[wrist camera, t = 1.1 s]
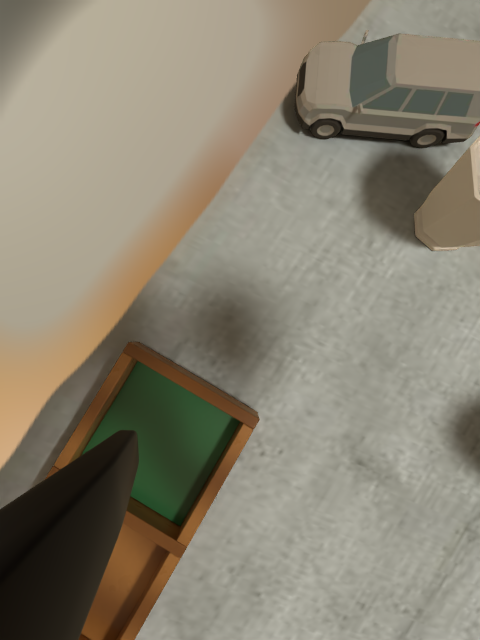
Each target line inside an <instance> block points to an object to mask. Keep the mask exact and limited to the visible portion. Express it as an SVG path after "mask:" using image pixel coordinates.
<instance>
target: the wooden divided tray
mask: <svg viewBox="0 0 480 640" xmlns="http://www.w3.org/2000/svg"><path fill="white" fill-rule="evenodd" d="M258 421H259V416H258V412H256V411H255V410H253V409H251V408H249V407H248V406H246V405H244V404H243V403H241V402H239V401H238V400H236V399H234V398H233V397H231V396H229V395H227V394H226V393H224V392H222V391H221V390H219V389H217V388H216V387H214V386H212V385H211V384H209V383H207V382H205V381H204V380H202V379H200V378H199V377H197V376H195V375H194V374H192V373H190V372H189V371H187V370H185V369H183V368H182V367H180V366H178V365H177V364H175V363H173V362H172V361H170V360H168V359H167V358H165V357H163V356H161V355H160V354H158V353H156V352H155V351H153V350H151V349H150V348H148V347H146V346H145V345H143V344H141V343H140V342H128V344H127V345H126V347H125V349H124V350H123V353H122V354H121V355H120V357H119V359H118V360H117V362H116V363H115V365H114V367H113V368H112V370H111V372H110V373H109V375H108V377H107V378H106V380H105V382H104V383H103V385H102V386H101V388H100V390H99V391H98V393H97V395H96V396H95V398H94V400H93V401H92V403H91V405H90V406H89V408H88V410H87V411H86V413H85V414H84V416H83V418H82V419H81V421H80V423H79V424H78V426H77V428H76V429H75V431H74V433H73V434H72V436H71V437H70V439H69V441H68V442H67V444H66V446H65V447H64V449H63V451H62V452H61V454H60V456H59V457H58V459H57V460H56V462H55V464H54V466H53V467H52V468H51V470H50V472H49V473H48V475H47V477H46V478H45V479H47V478H48V477H50V476H51V475H53V474H54V473H56V472H57V471H59V470H60V469H62V468H63V467H65V466H66V465H68V464H69V463H71V462H72V461H74V460H75V459H77V458H78V457H80V456H81V455H83V454H84V453H86V452H87V451H89V450H90V449H92V448H93V447H95V446H96V445H98V444H99V443H101V442H102V441H104V440H105V439H107V438H108V437H110V436H111V435H113V434H114V433H116V432H118V431H119V430H134V431H136V433H137V437H138V451H139V464H138V469H137V473H136V477H135V480H134V484H133V488H132V491H131V495H130V499H129V503H128V506H127V510H126V514H125V517H124V521H123V524H122V528H121V530H120V533H119V536H118V539H117V541H116V544H115V547H114V549H113V552H112V554H111V557H110V559H109V562H108V565H107V567H106V570H105V572H104V575H103V578H102V580H101V583H100V585H99V588H98V591H97V593H96V596H95V598H94V601H93V603H92V606H91V609H90V611H89V614H88V616H87V619H86V622H85V624H84V627H83V629H82V632H81V634H80V637H79V640H135V638H136V636H137V634H138V632H139V631H140V629H141V627H142V625H143V624H144V622H145V620H146V618H147V617H148V615H149V613H150V611H151V610H152V608H153V606H154V604H155V603H156V601H157V599H158V597H159V596H160V594H161V592H162V590H163V588H164V587H165V585H166V583H167V581H168V580H169V578H170V576H171V574H172V573H173V571H174V569H175V567H176V566H177V564H178V562H179V560H180V558H181V557H182V555H183V553H184V552H185V550H186V548H187V546H188V545H189V543H190V541H191V539H192V537H193V536H194V534H195V532H196V530H197V529H198V527H199V525H200V523H201V522H202V520H203V518H204V516H205V515H206V513H207V511H208V509H209V508H210V506H211V504H212V502H213V501H214V499H215V497H216V495H217V493H218V492H219V490H220V488H221V486H222V485H223V483H224V481H225V479H226V478H227V476H228V474H229V472H230V471H231V469H232V467H233V465H234V464H235V462H236V460H237V458H238V456H239V455H240V453H241V451H242V449H243V448H244V446H245V444H246V442H247V441H248V439H249V437H250V435H251V434H252V432H253V429H254V428H255V427H256V425H257V423H258Z"/></svg>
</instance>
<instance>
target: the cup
mask: <svg viewBox="0 0 480 640" xmlns="http://www.w3.org/2000/svg"><path fill="white" fill-rule="evenodd" d="M414 222H415V235H416V237H417V238H418V239H420V240H421V241H422V242H423V243H424V244H425V245H426V246H427V247H429V248H430V249H431V250H432V251H448V250H457V249H458V248H459V247H470V246H480V136H479V137H478V139H477V140H476V141H475V142H474V143H473V144H472V145H471V146H470V147H469V148H468V150H467V151H466V152H465V153H464V154H463V155H462V156H461V158H460V159H459V160H458V161H457V162H456V163H455V165H454V166H453V167H452V168H451V169H450V171H449V172H448V173H447V174H446V175H445V176H444V178H443V179H442V180H441V181H440V182H439V183H438V184H437V185H436V187H435V188H434V189H433V190H432V191H431V192H430V194H429V196H428V197H427V199H426V201H425V202H424V204H423V205H422V206H421V207H420V208H419V209H418V210H417V211H416V212H415V214H414Z"/></svg>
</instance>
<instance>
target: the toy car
mask: <svg viewBox="0 0 480 640" xmlns="http://www.w3.org/2000/svg"><path fill="white" fill-rule="evenodd" d="M368 31H369V30H366V32H365V34H364V37H363V40H362V43H361V45H358V46H357V45H355V44H353V43H350V42H341V41H333V42H320V43H319V44H317V45H316V46H315V47H314V48H312V49H311V50H310V52H309V53H308V54H307V55H306V56H305V57H304V59H303V62H302V64H301V67H300V69H299V72H298V74H297V84H296V96H295V112H296V117H297V119H298V121H299V123H300V124H301V126H302V128H305V129H309V126H310V125H311V127H310V128H311V133H312V134H313V135H314V136H315V137H318V138H321V139H326V138H331V137H333V136H336V135H337V134H338V133H339V132H340V131H341V123H342V134H344V135H355V136H365V137H376V138H387V139H398V140H409V139H410V142H411V144H412V145H413V146H415V147H419V148H425V147H430V146H433V145H435V144H437V143H438V142H440V141H441V140H442V144H443V143H454V142H464V141H465V140H467V139H468V138H469V137H471V136H472V134H473V133H474V131H475V130H476V128H477V126H478V125H479V123H480V41H474V40H464V39H453V38H442V37H430V36H419V35H409V34H396V35H393V36H389V37H386V38H382V39H379V40H375V41H372V42H368V43H365V44H364V42H365V39H366V37H367V34H368Z"/></svg>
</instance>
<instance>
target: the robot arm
mask: <svg viewBox="0 0 480 640" xmlns="http://www.w3.org/2000/svg"><path fill="white" fill-rule="evenodd" d="M138 464H139V451H138V437H137V433H136V431H134V430H119V431H118V432H116V433H114V434H113V435H111V436H110V437H108V438H107V439H105V440H104V441H102V442H101V443H99V444H98V445H96V446H95V447H93V448H92V449H90V450H89V451H87V452H86V453H84V454H83V455H81V456H80V457H78V458H77V459H75V460H74V461H72V462H71V463H69V464H68V465H66V466H65V467H63V468H62V469H60V470H59V471H57V472H56V473H54V474H53V475H51V476H50V477H48V478H47V479H45V480H44V481H42V482H41V483H39V484H38V485H36V486H35V487H33V488H32V489H30V490H29V491H27V492H26V493H24V494H23V495H21V496H20V497H18V498H17V499H15V500H14V501H12V502H11V503H9V504H8V505H6V506H4V507H3V508H1V509H0V640H79V637H80V634H81V632H82V629H83V627H84V624H85V622H86V619H87V616H88V614H89V611H90V609H91V606H92V603H93V601H94V598H95V596H96V593H97V591H98V588H99V585H100V583H101V580H102V578H103V575H104V572H105V570H106V567H107V565H108V562H109V559H110V557H111V554H112V552H113V549H114V547H115V544H116V541H117V539H118V536H119V533H120V530H121V528H122V524H123V521H124V517H125V514H126V510H127V506H128V503H129V499H130V495H131V491H132V488H133V484H134V480H135V477H136V473H137V469H138Z"/></svg>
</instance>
